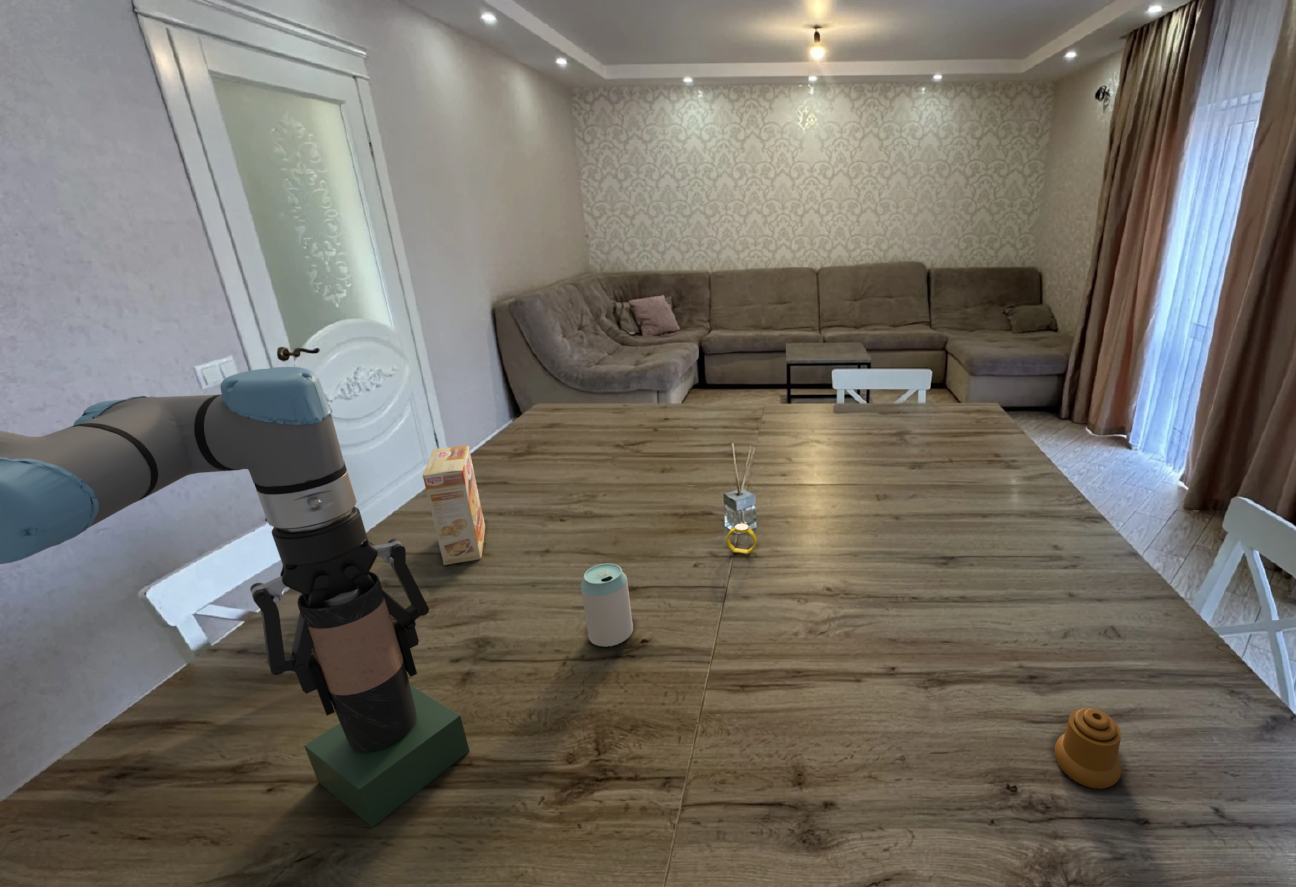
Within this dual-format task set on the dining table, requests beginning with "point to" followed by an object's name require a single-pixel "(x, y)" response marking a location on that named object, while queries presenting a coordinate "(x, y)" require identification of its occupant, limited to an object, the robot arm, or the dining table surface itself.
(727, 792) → the dining table surface
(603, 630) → the can
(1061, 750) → the ornamental finial
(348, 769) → the green block
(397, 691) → the travel mug
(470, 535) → the coffeecake box
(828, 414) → the dining table surface
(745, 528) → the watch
